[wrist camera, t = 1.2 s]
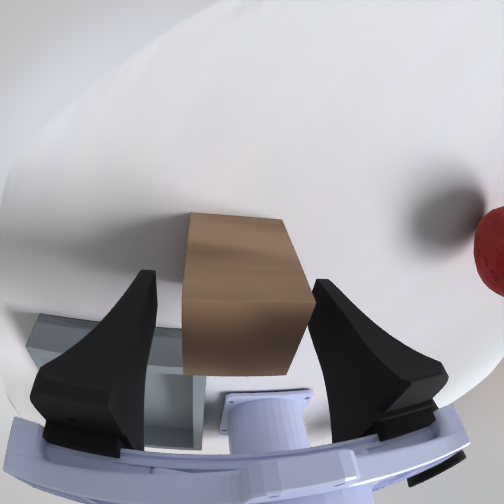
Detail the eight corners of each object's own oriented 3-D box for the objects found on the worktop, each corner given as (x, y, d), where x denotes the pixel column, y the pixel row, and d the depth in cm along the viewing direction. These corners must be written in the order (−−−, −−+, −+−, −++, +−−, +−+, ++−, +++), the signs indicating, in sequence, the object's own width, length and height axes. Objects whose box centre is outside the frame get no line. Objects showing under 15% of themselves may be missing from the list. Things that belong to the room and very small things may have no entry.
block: (265, 288, 17) (286, 375, 13) (187, 284, 17) (182, 374, 12) (282, 219, 15) (316, 302, 10) (190, 212, 14) (181, 298, 9)
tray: (200, 425, 28) (201, 450, 25) (92, 414, 25) (88, 438, 23) (205, 330, 19) (206, 368, 16) (39, 313, 17) (25, 346, 14)
